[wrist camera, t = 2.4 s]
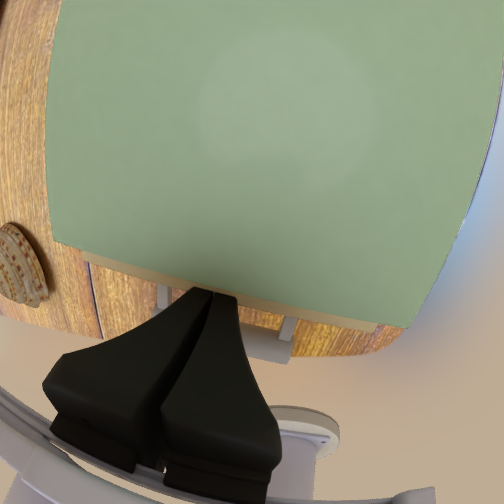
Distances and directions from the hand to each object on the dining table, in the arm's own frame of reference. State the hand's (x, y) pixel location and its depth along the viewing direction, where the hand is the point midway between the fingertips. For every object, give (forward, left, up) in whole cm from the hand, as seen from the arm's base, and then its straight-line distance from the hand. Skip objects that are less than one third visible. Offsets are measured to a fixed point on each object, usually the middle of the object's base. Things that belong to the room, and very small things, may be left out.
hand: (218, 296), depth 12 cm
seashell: (-8, +21, -7) cm, 23 cm away
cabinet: (+9, 0, -6) cm, 11 cm away
